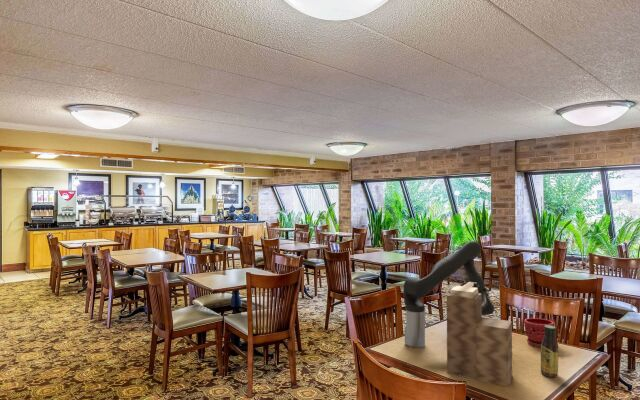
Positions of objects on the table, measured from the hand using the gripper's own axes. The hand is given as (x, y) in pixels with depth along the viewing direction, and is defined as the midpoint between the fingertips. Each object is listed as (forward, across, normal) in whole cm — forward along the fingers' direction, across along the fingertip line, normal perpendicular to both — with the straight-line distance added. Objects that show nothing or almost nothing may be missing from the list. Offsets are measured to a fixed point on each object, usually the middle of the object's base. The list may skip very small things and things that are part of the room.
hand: (469, 284), depth 172 cm
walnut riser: (-9, +6, +35) cm, 36 cm away
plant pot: (-55, +24, +9) cm, 60 cm away
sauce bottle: (-22, +30, +28) cm, 46 cm away
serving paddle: (+3, 0, +5) cm, 6 cm away
